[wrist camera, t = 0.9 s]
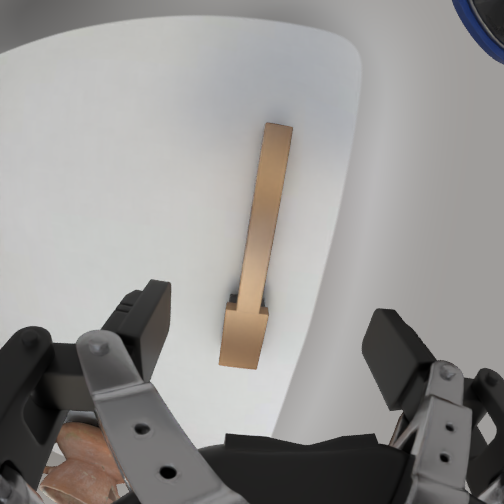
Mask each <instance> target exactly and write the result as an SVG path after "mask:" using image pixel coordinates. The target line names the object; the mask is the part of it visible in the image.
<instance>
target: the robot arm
mask: <svg viewBox="0 0 504 504" xmlns="http://www.w3.org/2000/svg"><path fill="white" fill-rule="evenodd" d="M467 3H468V5H469V8H470V10H471V12H472V14H473V15H474V17H475V19H476V20H477V22H478V24H479V25H480V27H481V28H482V29H483V31H484V32H485V33H486V34H487V36H488V37H489V38H490V39H491V40H492V41H493V42H494V43H495V44H496V45H497V46H498V47H499V48H501V49H502V50H504V0H467ZM170 313H171V283H170V282H165V281H159V280H153V279H151V280H150V281H149V283H148V284H147V286H146V287H145V288H144V290H143V291H140V290H134V291H133V292H131V293H129V294H127V295H126V296H125V297H124V298H123V300H122V301H121V302H120V304H119V305H118V306H117V308H116V310H114V312H113V313H112V314H111V316H110V317H109V318H108V320H107V321H106V323H105V324H104V325H103V327H102V328H101V330H93V331H89V332H87V333H84V334H83V335H81V336H80V337H79V338H78V340H77V342H76V344H68V343H53V342H52V338H51V335H50V333H49V332H48V331H47V330H46V329H44V328H42V327H37V326H30V327H25V328H22V329H20V330H18V331H17V332H16V333H15V334H14V335H13V336H12V337H11V338H10V339H9V340H8V341H7V343H6V344H5V345H4V346H3V347H2V348H1V350H0V504H44V502H43V500H42V498H41V497H40V495H39V494H38V493H37V492H36V491H37V488H38V485H39V482H40V479H41V477H42V474H43V471H44V469H45V466H46V463H47V461H48V458H49V456H50V453H51V451H52V449H53V446H54V444H55V441H56V439H57V437H58V434H59V432H60V430H61V427H62V425H63V423H64V421H65V419H66V416H67V414H68V412H69V410H72V411H92V412H94V414H95V417H96V419H97V422H98V425H99V427H100V430H101V432H102V435H103V437H104V439H105V442H106V444H107V446H108V449H109V451H110V453H111V455H112V457H113V460H114V462H115V464H116V466H117V468H118V471H119V473H120V475H121V477H122V479H123V481H124V482H125V484H126V486H127V488H128V490H129V493H127V494H126V495H124V496H122V497H121V498H119V499H117V500H116V501H114V502H112V503H111V504H504V380H503V378H502V377H501V376H500V375H499V374H498V373H497V372H495V371H493V370H491V369H487V368H483V369H480V371H479V372H478V374H477V376H476V377H475V378H474V379H470V378H464V377H463V374H462V372H461V370H460V369H459V368H458V367H457V366H455V365H454V364H452V363H450V362H447V361H444V360H438V361H437V360H436V358H435V357H434V356H433V354H432V353H431V352H430V351H429V349H428V348H427V347H426V345H425V344H424V343H423V342H422V340H421V339H420V338H419V337H418V335H417V334H416V332H415V331H414V330H413V329H412V328H411V327H410V326H408V325H407V324H406V323H405V322H404V321H403V320H402V318H401V317H400V316H399V314H398V313H397V312H396V311H395V310H392V309H380V308H379V309H376V310H375V311H374V313H373V316H372V318H371V321H370V324H369V326H368V329H367V331H366V334H365V336H364V339H363V342H362V354H363V356H364V358H365V360H366V362H367V364H368V366H369V368H370V370H371V372H372V374H373V377H374V379H375V380H376V383H377V385H378V387H379V389H380V391H381V393H382V395H383V398H384V400H385V402H386V404H387V406H388V408H389V410H390V411H394V410H403V413H402V414H401V416H400V417H399V420H398V422H397V425H396V428H395V431H394V433H393V436H392V438H391V441H390V443H389V445H384V444H378V441H377V439H376V436H375V434H374V433H373V434H364V435H353V436H342V437H338V438H335V439H331V440H328V441H324V442H320V443H316V444H312V445H301V444H296V443H292V442H287V441H282V440H278V439H274V438H270V437H265V436H249V435H237V434H227V433H226V435H225V441H224V444H220V445H213V446H208V447H204V448H200V449H196V447H195V446H194V445H193V443H192V442H191V441H190V439H189V438H188V436H187V435H186V434H185V432H184V431H183V429H182V428H181V426H180V425H179V424H178V422H177V421H176V419H175V418H174V416H173V415H172V413H171V412H170V410H169V409H168V407H167V405H166V404H165V402H164V401H163V399H162V398H161V396H160V394H159V393H158V391H157V390H156V388H155V386H154V385H153V384H152V383H151V382H150V379H151V376H152V374H153V371H154V368H155V366H156V363H157V360H158V358H159V355H160V353H161V350H162V348H163V345H164V342H165V340H166V337H167V335H168V331H169V326H170ZM487 412H488V414H489V415H490V417H491V418H492V420H493V422H494V423H495V425H496V428H497V433H496V436H495V438H494V439H493V440H492V442H491V443H490V444H489V445H487V443H486V441H485V439H484V437H483V436H482V434H481V432H480V430H479V429H478V427H477V424H478V423H479V422H480V421H481V419H482V418H483V417H484V415H485V414H486V413H487ZM465 480H466V481H467V483H468V486H469V488H470V491H471V493H472V494H470V493H468V491H466V490H465Z"/></svg>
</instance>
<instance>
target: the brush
mask: <svg viewBox="0 0 504 504" xmlns="http://www.w3.org/2000/svg"><path fill="white" fill-rule="evenodd" d="M292 131H293V127H289V126H284V125H279V124H273V123H266V124H265V127H264V133H263V139H262V146H261V152H260V158H259V164H258V170H257V176H256V182H255V189H254V195H253V201H252V207H251V214H250V220H249V226H248V233H247V239H246V245H245V252H244V258H243V265H242V271H241V277H240V284H239V290H238V295H232V294H231V295H230V300H229V302H227V304H226V311H225V319H224V326H223V334H222V342H221V349H220V357H219V365H222V366H229V367H237V368H246V369H255V370H256V369H257V365H258V361H259V356H260V352H261V348H262V343H263V339H264V334H265V330H266V325H267V321H268V316H269V313H268V307H265V303H264V299H262V296H263V291H264V286H265V281H266V276H267V270H268V265H269V260H270V255H271V249H272V244H273V238H274V233H275V228H276V222H277V217H278V211H279V206H280V200H281V195H282V189H283V183H284V178H285V172H286V166H287V160H288V155H289V149H290V143H291V137H292Z"/></svg>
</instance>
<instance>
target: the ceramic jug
mask: <svg viewBox="0 0 504 504" xmlns="http://www.w3.org/2000/svg"><path fill="white" fill-rule="evenodd" d="M56 442H57V443H58V446H59V448H60V450H61V451H62V453H63V454H64V456H65V458H66V461H65V462H63V463H62V464H60V465H59V466H56V467H55V466H54V467H49V466H45V469H44V471H43V473H45V474H48V475H47V476H46V477H45V478H44V480H43V481H42V483H41V484H40V490H41V491H42V492H44V494H45V495H47V497H49V498H50V499H52V500H53V501H54V502H56V503H58V504H111V503H112V502H114V501H116V500H117V499H119V498H120V496H119V495H118V492H117V487H116V484H121V483H125V482H124V481H123V479H122V477H121V475H120V473H119V471H118V468H117V466H116V464H115V462H114V460H113V457H112V455H111V453H110V451H109V449H108V446H107V444H106V442H105V439H104V437H103V435H102V432H101V430H100V428H98V427H96V426H93V425H89V424H85V423H80V422H68V423H65V424H63V425H62V427H61V430H60V432H59V434H58V437H57V439H56V441H55V443H56Z"/></svg>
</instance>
